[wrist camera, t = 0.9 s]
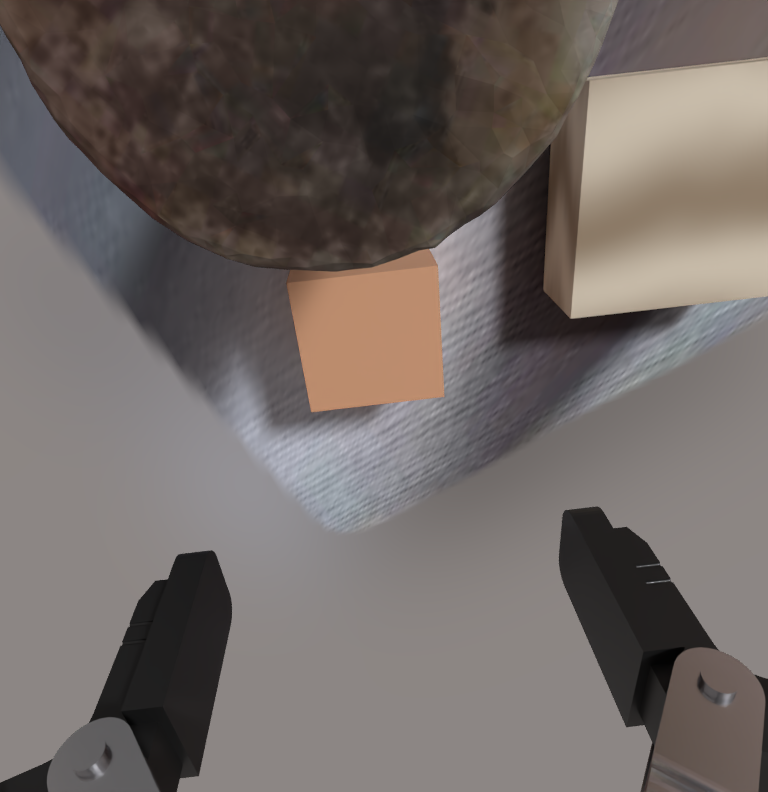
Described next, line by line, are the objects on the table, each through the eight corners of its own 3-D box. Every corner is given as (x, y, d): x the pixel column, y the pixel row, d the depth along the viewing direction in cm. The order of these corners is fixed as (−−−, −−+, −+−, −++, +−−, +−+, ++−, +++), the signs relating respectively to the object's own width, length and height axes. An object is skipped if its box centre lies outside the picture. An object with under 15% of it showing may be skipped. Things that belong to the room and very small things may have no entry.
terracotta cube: (297, 244, 27) (286, 283, 21) (419, 230, 27) (437, 265, 21) (317, 354, 30) (311, 412, 24) (426, 341, 30) (444, 396, 24)
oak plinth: (554, 81, 24) (589, 80, 20) (770, 56, 24) (842, 52, 20) (543, 290, 28) (570, 318, 25) (723, 269, 29) (775, 295, 25)
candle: (290, 164, 25) (162, 354, 7) (211, -27, 21) (-393, -528, 4) (450, 100, 24) (732, 145, 7) (396, -111, 20) (701, -1254, 3)
